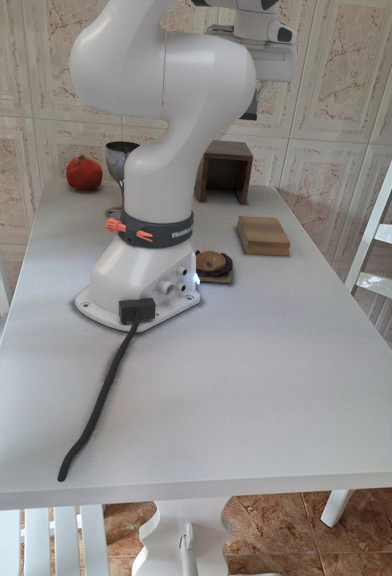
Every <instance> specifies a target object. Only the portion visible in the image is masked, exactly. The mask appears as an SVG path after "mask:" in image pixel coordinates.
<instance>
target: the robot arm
mask: <svg viewBox="0 0 392 576" xmlns="http://www.w3.org/2000/svg"><path fill="white" fill-rule="evenodd" d="M190 1H191V3H192V4H193V5H194V6H195V7H207V8H209V7H210V8H214V7H216V8H225V9H232V10H234V15H233V25H231V24H218V23H212V24H211V25H208V26H207V27H206V28H205V29H204V30H203V33H194V32H184V31H174V30H167V29H165V28H162V26H161V25H160V24H161V20H162V18H163V17H164V15H165V13H166V12H167V11H168V10H169V9H171V8H172V7H174V6H176V5H179V4H181V3H183V2H186V0H108V2H107V3H106V5H105V7H104V8H103V10H102V11H101V13H100V14H99V15H98V16H97V17H96V19H94V20H93V21H92V23H90V24H89V25H88V26H86V27H85V28H84V29H83V30H82V31H81V32H79V34H78V35H77V37H76V39H75V41H74V42H73V45H72V46H71V50H70V54H69V61H68V67H69V69H68V71H69V77H70V81H71V85H72V88H73V89H74V91H75V93H76V95H77V97H78V99H79V100H80V101H81V102H82V103H83V105H84V106H86V107H87V108H89V109H90V108H91V109H93V110H97V111H99V112H102V113H106V114H110V115H113V116H117V117H125V118H135V119H136V118H138V119H148V120H158V121H159V120H161V121H163V122H165V123H167V127H166V129H165V130H164V132H163V133H162V134H161V135H160V136H158V137H157V138H155V139H152V140H149V141H147V142H145V143H142V144H140V145H141V146H139V147H137V148H136V149H134V150H133V151H132V152H131V153H130V154H129V156H128V157H127V159H126V162H125V165H124V206H123V207H121V208H122V210H121V214H120V216H119V220H117V219H114V218H112V217H109V218H108V219H107V221H106V222H105V224H106V225H105V227H106V230H107V231H110V232H114V233H116V235H115V236H114V238H113V239H112V241H110V243H109V244H108V246H107V247H106V249H105V250H104V252H103V253H102V255H101V256H100V257H99V259H98V260H97V261H96V263H95V264H94V266H93V267H92V268H91V270H90V275H89V282H88V286H86V287H85V289H84V290H83V291H81V292H80V293H79V294H77V296H76V297H75V298H74V305H75V307H76V309H77V310H78V311H79V312H80V313H81V314H83V315H84V316H86V317H87V318H89V319H90V320H93V321H95V322H97V323H99V324H101V325H103V326H105V327H109V328H112V329H115V330H118V331H123V332H128V333H127V334H126V335H125V338H124V339H123V341H122V342H121V344H120V346H119V348H118V350H117V352H116V353H115V356H114V358H113V360H112V363H111V365H110V367H109V370H108V372H107V374H106V376H105V379H104V382H103V384H102V386H101V389H100V391H99V394H98V397H97V399H96V402H95V404H94V407H93V408H92V409H93V410H92V412H91V414H90V417H89V419H88V421H87V423H86V425H85V428H84V429H83V431H82V433H81V435H80V436H79V438H78V439H77V440H76V441H75V443H74V444H73V445H72V447H70V449H69V450H68V452H67V453H66V454H65V456H64V458H63V460H62V463H61V465H60V468H59V470H58V474H57V479H56V480H57V482H58V483H62V482H65V481H66V479H67V476H68V472H69V469H70V466H71V464H72V462H73V461H74V459H75V457H76V455H77V454H78V453H79V452H80V450H81V449H82V448H83V447H84V446H85V444H86V443H87V442H88V440H89V438H90V436H91V435H92V432H93V430H94V428H95V426H96V424H97V422H98V419H99V416H100V414H101V411H102V408H103V407H104V406H103V405H104V403H105V400H106V398H107V395H108V392H109V390H110V388H111V385H112V383H113V380H114V377H115V374H116V372H117V369H118V367H119V364H120V362H121V360H122V358H123V356H124V353H125V351H126V350H127V348H128V346H129V344H130V342H131V341H132V339H133V338H134V336H135V334H136V333H143V332H145V331H147V330H149V329H151V328H153V327H155V326H157V325H159V324H161V323H162V322H165V321H166V320H168V319H170V318H173V317H174V316H176V315H178V314H180V313H182V312H185V311H186V310H188V309H190V308H192V307H194V306H196V305H198V304H200V302H201V294H200V293H199V291H198V290H197V289H196V287H197V285H200V282H201V281H200V280H199V278H198V276H197V274H196V255H195V253H196V251H195V250H194V248H193V244H192V240H191V237H192V235H193V233H194V225H195V219H194V218H195V213H194V211H193V202H194V201H193V200H194V193H195V188H196V176H197V171H198V167H199V164H200V161H201V159H202V157H203V155H204V153H205V151H206V149H207V148H208V146H209V145H210V144H211V142H212V141H213V140H215V139H216V138H217V136H218V135H219V134H221V132H223V131H224V130H225V129H226V128H227V127H229V126H231V125H232V124H233V123H235V122H236V121H238V120H240V119H239V118H240V117H241V116H242V115H243V114H244V113H245V112H246V110H247V109H248V107H249V106H250V104H251V101H252V99H253V96H254V93H255V88H257V87H256V86H257V81H259V85H260V87H259V89H257V94H256V102H257V103H258V104H260V103H261V97H262V95H263V94H264V92H265V91H266V90H267V88H268V85H269V82H278V83H292V82H293V80H294V79H295V77H296V71H297V64H298V50H297V46H295V43H296V42H297V39H298V33H297V31H295V30H294V29H293V28H291V27H289V26H287V25H286V24H285V23H284V22H279V21H278V17H279V1H280V0H190Z"/></svg>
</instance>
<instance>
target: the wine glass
mask: <svg viewBox="0 0 392 576" xmlns="http://www.w3.org/2000/svg"><path fill="white" fill-rule="evenodd" d="M141 145H142V144H139V143H137V142H132V141H125V140H123V141H122V140H120V141H119V140H117V141H109V142H107V143H106V144H105V151H104V153H105V161H106V166H107V170H108V173H109V175H110V177H111V178H112V179H113V180H114V182H115V183H116V184H117V185H118V187H119V188H120V192H121V200H122V204H121V205H122V207H123V206H124V165H125V162H126V159H127V157H128V156H129V154H130V153H131V152H132V151H133V150H134V149H136V148H137V147H139V146H141ZM122 207H118V208H117V207H116V208H113V209H110V210H109V211H108V213H107V214H108V216H109V218H114V219H115V220H117V221H119V216H120V214H121V210H122Z"/></svg>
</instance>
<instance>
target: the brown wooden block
mask: <svg viewBox="0 0 392 576" xmlns="http://www.w3.org/2000/svg"><path fill="white" fill-rule="evenodd" d="M236 229H237V232H238V234H239V235H238V236H239V237H240V241H241V243H242V246H243V249H244V251H245V254H246V255H261V256H263V255H264V256H284V257H285V256H286V257H287V256H289V252H290V247H291V241H290V239H289V237H288V235H287V234H286V233H287V232H286V231H285V230H284V228H283V225H282V224H281V222H280V220H279V219H278V217H266V216H251V215H250V216H249V215H238V220H237V225H236Z"/></svg>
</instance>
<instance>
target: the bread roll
mask: <svg viewBox="0 0 392 576" xmlns="http://www.w3.org/2000/svg"><path fill="white" fill-rule="evenodd" d="M195 255H196V274H197V276H198V278H199V280H200V282H213V283H218V284H220V283H221V284H222V283H223V284H232V281H233V280H232V279H233V277H232V276H233V272H232V270H233V269H234V260H233V259H232V258H231V257H230V256H229V255H227V253H225V252H220V253H219V252H217V251H214V250H204V251H202V252H200V250H199V249H197V250H196V251H195Z"/></svg>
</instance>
